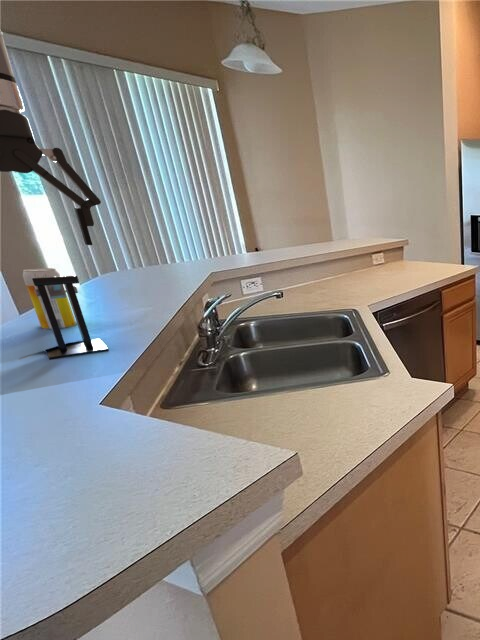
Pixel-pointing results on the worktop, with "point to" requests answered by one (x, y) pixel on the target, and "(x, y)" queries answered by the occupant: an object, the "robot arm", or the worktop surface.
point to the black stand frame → (87, 344)
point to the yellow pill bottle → (58, 304)
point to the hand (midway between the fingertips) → (38, 245)
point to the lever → (56, 284)
